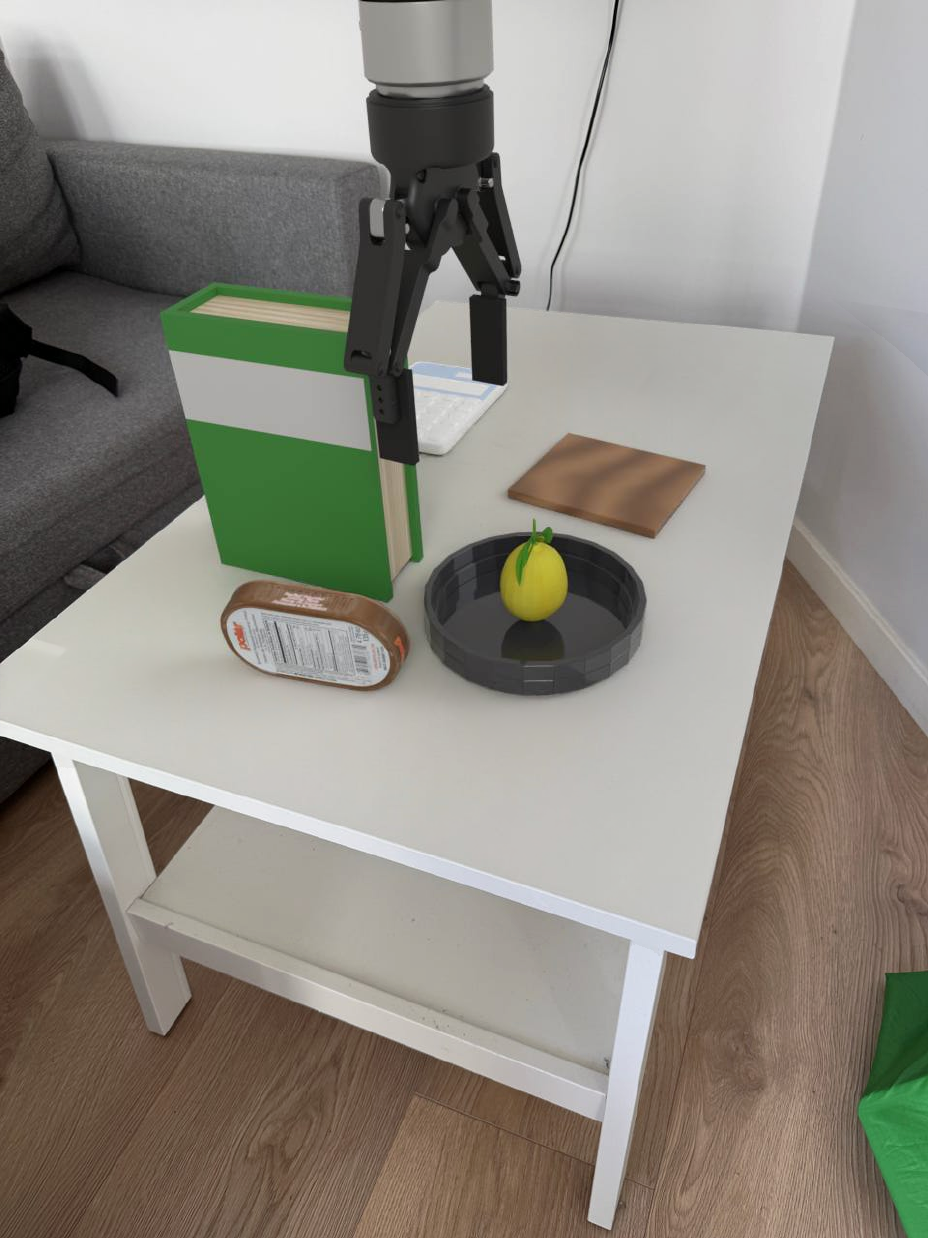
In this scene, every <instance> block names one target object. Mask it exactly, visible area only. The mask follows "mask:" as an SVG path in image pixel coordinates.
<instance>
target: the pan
mask: <svg viewBox="0 0 928 1238" xmlns="http://www.w3.org/2000/svg"><path fill="white" fill-rule="evenodd" d="M532 532H533V531H515V532H509V533H503V534H498V535H491V536H488V537H486V538H483V539H480V540H477V541H475V542H471V543H468V544H466V545H464V546H463V547H461V548H459V549H458V550H456V551H454V552H453V553H451V554H449V555H447V556H446V558H444V559H443V561H441V562H440V563H439V564H438V565H437V566H436V567H435V568H434V569H433V570H432V572H431V575H430V576H429V578H428V580H427V582H426V584H425V586H424V594H423V612H424V613H423V615H424V624H425V625H424V627H425V633H426V637H427V638H428V642H429V645H430V648H431V650H432V651H433V652H434V653H435V655H436V656H437V657H438V658H439V660H441V662H442V663H443V664H444V666H445V667H447V668H448V669H450V670H451V671H453V672H454V673H456V674H458V675H459V676H460V677H461V678H463V679H465V680H466V681H469V682H471V683H473V684H477V685H479V686H481V687H484V688H486V689H490V690H492V691H496V692H500V693H504V694H509V695H510V694H511V695H517V696H533V697H535V696H537V697H539V696H553V695H561V694H567V693H572V692H575V691H579V690H582V689H586V688H587V687H590V686H593V685H595V684H598V683H599V682H602V681H604V680H607V679H609V678H611V677H612V676H613V675H615V673H617V672H618V671H620V670H622V668H624V667H625V666H626V665H627V664H629V662H630V661H631V659H632V658H633V657H634V655H635V654H636V652H637V651H638V650H639V648H640V646H641V644H642V638H643V633H644V628H645V621H646V610H647V601H648V600H647V594H646V590H645V584H644V582H643V580H642V579H641V577H640V575H639V574H638V572H637V571H636V570H635V568H634V567H633V565H632V564H630V563H629V562H628V561H627V560H625V559H624V558H623V557H622V556H620V555H619V554H618V553H616V552H615V551H614V550H611V549H609V548H607V547H606V546H603V545H602V544H600V543H597V542H595V541H592V540H588V539H585V538H582V537H577V536H575V535H571V534H566V533H557V532H553V537H552V540H551V542H550V543H545V544H547V545H549V546H551V547H552V548H554V549H555V550H556V551H557V552H558V554H559V555H560V556H561V558H562V560H563V562H564V565H565V569H566V574H567V581H568V588H567V594H566V597H565V600H564V602H563V604H562V605H561V607H560V608H559V609H558V610H557V611H556V612H555V613H554V614H553V615H551V616H549V617H548V618H546V619H543V620H540V621H525V620H522V619H519V618H517V617H516V616H514V615H513V614H511V613H510V612H509V611H508V609H507V608H506V607H505V605H504V603H503V600H502V596H501V588H500V580H501V574H502V570H503V567H504V565H505V562H506V560H507V558H508V557H509V555H510V554H511V553H512V552H513V551H514V550H515V549H516V548H517V547H519V546H520V545H522V544H523V543H526V542H528V540H529V539H530V538H531V536H532ZM541 532H542V531H536V535H539V534H540V533H541Z"/></svg>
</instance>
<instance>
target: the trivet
mask: <svg viewBox="0 0 928 1238" xmlns="http://www.w3.org/2000/svg"><path fill="white" fill-rule="evenodd" d="M706 468H707V465H706V464H703V463H698V462H694V461H690V460H686V459H682V458H681V459H680V458H677V457H673V456H668V455H664V454H660V453H657V452H656V453H655V452H652V451H647V450H643V449H639V448H635V447H631V446H626V445H622V444H618V443H613V442H609V441H606V440H601V439H596V438H592V437H589V436H584V435H580V434H575V433H571V432H568V433H567V434H565V435H564V436H563V437H562V438H561V439H560V440H559V441H558V442H556V444H555V445H554V446H553V447H551V449H549V450H548V451H547V452H546V453H545V454H544V455H543V456H542V457H541V458H540V459H539V460H537V461H536V463H535V464H533V465H532V467H530V468H529V469H528V470H527V471H526V472H524V474H523V475H522V476H521V477H520V478H519V479H517V480H516V481H515V483H514V484H512V485H511V486H510V487H509V488H508V489H507V498H508V499H510V500H514V501H518V502H522V503H526V504H529V505H532V506H537V507H540V508H542V509H544V508H545V509H547V510H551V511H554V512H558V513H561V514H564V515H569V516H572V517H576V518H580V519H582V520H586V521H590V522H594V523H598V524H600V525H604V526H608V527H612V528H615V529H619V530H622V531H626V532H629V533H633V534H636V535H640V536H644V537H648V538H651V539H655V538H656V537H657V536H658V535H659V533H660V532H661V530H663V528H664V527H665V526H666V524H668V521H669V520H670V519H671V518H672V516H673V515H674V514H675V512H676V511H677V510H678V509H679V508H680V506H681V504H683V502H684V501H685V500H686V498H687V497H688V496H689V494H690V493H691V492H692V490H694V488H695V487H696V485H698V483H699V482H700V481H701V479H702V478H703V476H704V475H705V474H706Z"/></svg>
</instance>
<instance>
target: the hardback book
mask: <svg viewBox="0 0 928 1238" xmlns="http://www.w3.org/2000/svg"><path fill="white" fill-rule="evenodd" d="M351 303H352V297H347V296H338V295H337V296H336V295H330V294H329V295H328V294H321V293H312V292H303V291H294V290H285V289H277V288H275V289H274V288H269V287H259V286H251V285H241V284H233V283H224V282H215V281H214V282H212V283H210V284H209V285H207V286H205V287H203V288H201V289H200V290H198V291H196V292H195V293H192V294H191V295H188V296H187V297H185V298H184V299H182V300H180V301H178V302H177V303H174V304H173V305H171V306H170V307H167V308H166V309H164V310H162V311H161V312H159V318H160V321H161V325H162V329H163V334H164V337H165V342H166V345H167V349H168V353H169V357H170V358H169V359H170V361H171V365H172V370H173V373H174V377H175V383H176V385H177V390H178V394H179V397H180V402H181V405H182V409H183V414H184V417H185V422H186V426H187V431H188V433H189V434H188V435H189V438H190V442H191V445H192V450H193V454H194V458H195V462H196V467H197V470H198V474H199V479H200V482H201V486H202V491H203V494H204V498H205V502H206V506H207V510H208V514H209V519H210V522H211V526H212V530H213V535H214V538H215V542H216V546H217V550H218V551H217V552H218V556H219V558H220V563H221V565H226V566H230V567H235V568H239V569H242V570H247V571H252V572H256V573H260V574H265V575H269V576H273V577H278V578H282V579H286V580H290V581H294V582H299V583H303V584H307V585H312V586H316V587H319V588H323V589H327V590H333V591H340V592H346V593H353V594H358V595H362V596H365V597H368V598H371V599H373V600H375V601H380V602H385V603H390V602H391V600H392V599H393V598H394V592H393V583H392V582H393V580H395V578H396V577H397V575H398V574H399V573H400V572H401V570H402V569H403V568H404V567H405V565H407V563H408V562H409V561H411V562H413V563H414V562H415V563H421V561H422V560H423V559H424V547H423V536H422V522H421V521H422V520H421V510H420V509H421V507H420V497H419V485H418V472H417V471H418V470H417V464H416V465H415V466H411V465H407V464H403V463H398V462H394V461H390V460H385V459H381V458H380V456H379V447H378V438H377V429H376V420H375V418H374V416H373V409H372V407H373V406H372V400H371V391H370V382H369V377H368V376H367V375H362V374H357V373H352V372H347V371H346V370H345V369H344V354H345V347H346V340H347V332H348V325H349V318H350V310H351ZM362 353H363V351H362ZM390 353H391V349H390ZM408 367H409V359H408V355H407V357H406V361H405V364H404V368H406V369H408Z"/></svg>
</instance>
